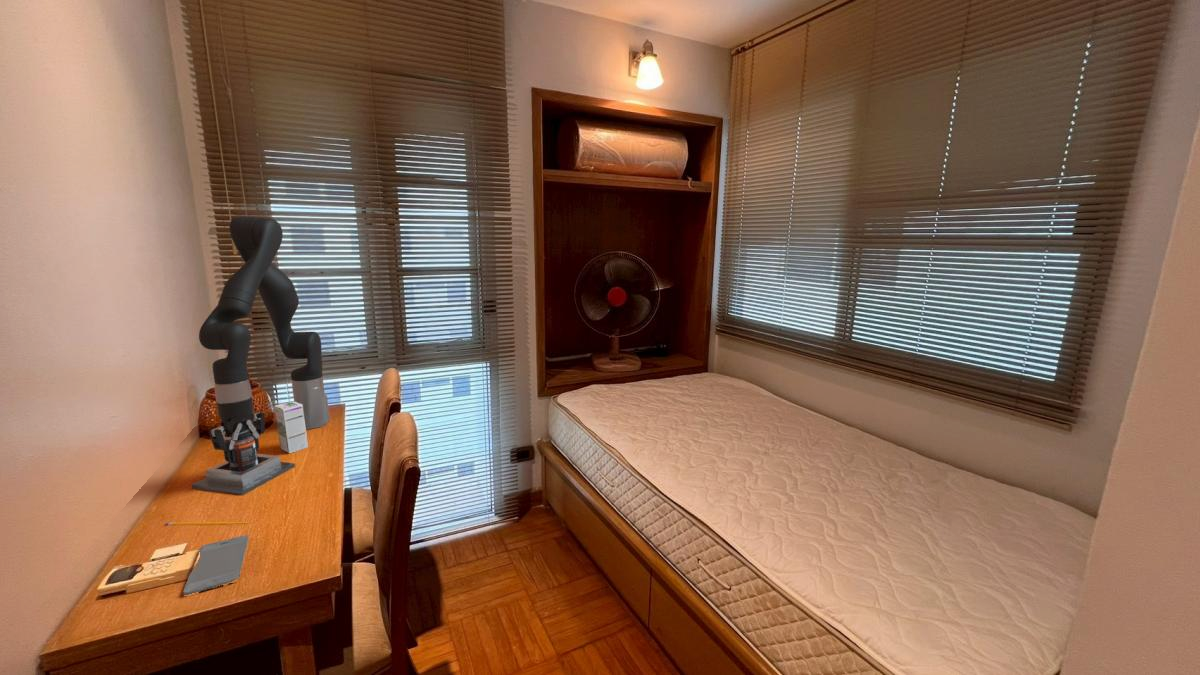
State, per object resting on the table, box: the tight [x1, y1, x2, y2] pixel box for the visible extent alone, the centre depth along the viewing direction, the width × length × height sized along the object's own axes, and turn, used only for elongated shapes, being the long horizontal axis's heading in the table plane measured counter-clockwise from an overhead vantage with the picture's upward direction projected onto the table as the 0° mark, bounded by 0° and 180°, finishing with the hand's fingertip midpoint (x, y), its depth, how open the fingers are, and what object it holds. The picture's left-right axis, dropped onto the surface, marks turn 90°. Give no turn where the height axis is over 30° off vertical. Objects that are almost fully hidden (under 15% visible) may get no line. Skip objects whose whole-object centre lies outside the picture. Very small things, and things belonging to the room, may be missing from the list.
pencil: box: [164, 521, 250, 527], centre depth 106 cm, size 1×18×1 cm, turn 92°
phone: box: [182, 534, 250, 595], centre depth 93 cm, size 8×16×1 cm, turn 31°
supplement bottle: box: [228, 430, 258, 472], centre depth 126 cm, size 6×6×11 cm
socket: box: [190, 453, 296, 496], centre depth 127 cm, size 16×16×4 cm
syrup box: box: [274, 400, 309, 454], centre depth 144 cm, size 6×6×14 cm
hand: (243, 456), depth 127 cm, fingers closed on supplement bottle, 6 cm apart
